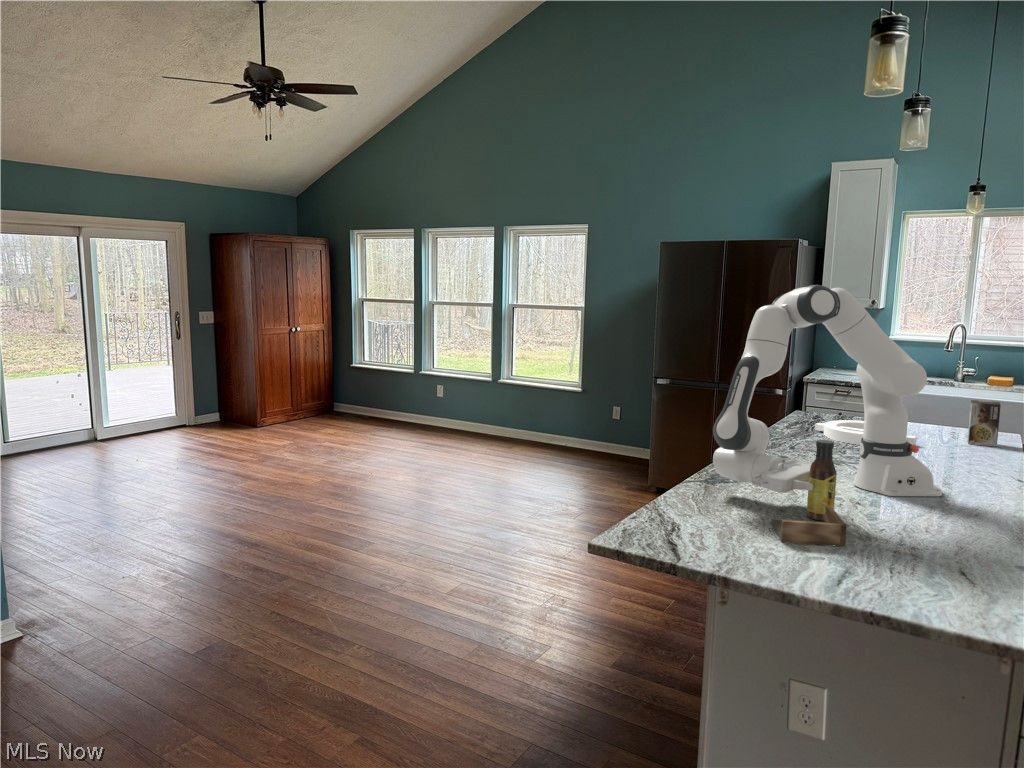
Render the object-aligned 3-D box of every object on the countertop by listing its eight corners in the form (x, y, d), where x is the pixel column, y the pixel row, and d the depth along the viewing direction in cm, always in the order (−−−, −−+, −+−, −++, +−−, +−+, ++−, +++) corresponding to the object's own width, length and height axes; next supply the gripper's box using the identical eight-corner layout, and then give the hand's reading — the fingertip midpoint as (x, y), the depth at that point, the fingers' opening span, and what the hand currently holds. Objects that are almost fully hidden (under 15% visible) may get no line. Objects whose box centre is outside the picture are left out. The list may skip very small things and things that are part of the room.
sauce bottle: (831, 523, 166) (837, 445, 164) (804, 519, 170) (809, 442, 167) (834, 516, 172) (840, 440, 169) (808, 511, 175) (813, 437, 172)
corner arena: (829, 526, 165) (830, 506, 164) (845, 546, 152) (846, 525, 151) (771, 522, 167) (772, 502, 167) (781, 542, 154) (782, 521, 153)
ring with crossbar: (920, 448, 247) (921, 435, 246) (844, 447, 247) (845, 434, 247) (879, 431, 275) (880, 420, 274) (811, 431, 275) (812, 420, 274)
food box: (995, 443, 252) (1000, 401, 250) (997, 447, 247) (1001, 404, 245) (966, 440, 257) (971, 399, 255) (967, 444, 252) (971, 401, 250)
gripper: (751, 467, 173) (803, 479, 162) (788, 454, 186) (839, 464, 176) (749, 491, 174) (802, 504, 163) (787, 476, 187) (838, 487, 177)
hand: (822, 483), depth 170 cm, fingers open, 8 cm apart
